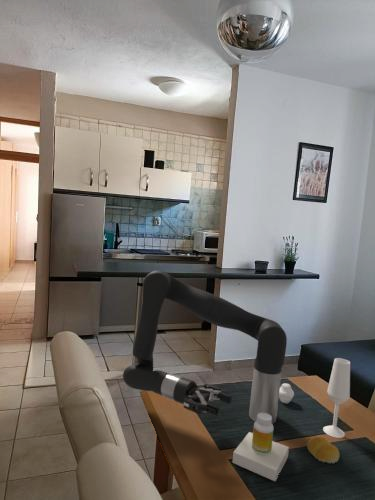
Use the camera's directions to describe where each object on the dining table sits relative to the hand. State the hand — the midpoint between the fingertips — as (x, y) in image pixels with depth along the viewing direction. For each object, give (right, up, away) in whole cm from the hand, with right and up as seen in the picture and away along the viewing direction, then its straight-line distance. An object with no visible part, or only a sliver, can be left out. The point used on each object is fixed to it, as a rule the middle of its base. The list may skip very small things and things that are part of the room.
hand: (225, 405), depth 106 cm
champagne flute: (+37, -14, +12) cm, 41 cm away
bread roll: (+29, -14, 0) cm, 32 cm away
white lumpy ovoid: (+26, -12, +30) cm, 42 cm away
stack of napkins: (+9, -13, -5) cm, 17 cm away
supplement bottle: (+9, -10, -5) cm, 15 cm away
